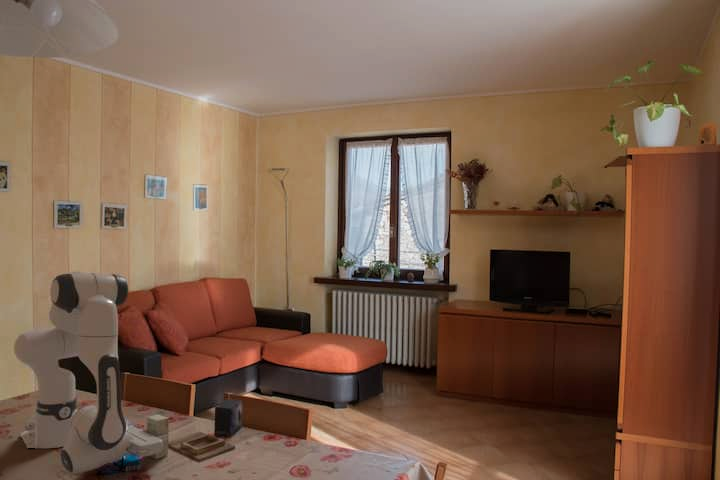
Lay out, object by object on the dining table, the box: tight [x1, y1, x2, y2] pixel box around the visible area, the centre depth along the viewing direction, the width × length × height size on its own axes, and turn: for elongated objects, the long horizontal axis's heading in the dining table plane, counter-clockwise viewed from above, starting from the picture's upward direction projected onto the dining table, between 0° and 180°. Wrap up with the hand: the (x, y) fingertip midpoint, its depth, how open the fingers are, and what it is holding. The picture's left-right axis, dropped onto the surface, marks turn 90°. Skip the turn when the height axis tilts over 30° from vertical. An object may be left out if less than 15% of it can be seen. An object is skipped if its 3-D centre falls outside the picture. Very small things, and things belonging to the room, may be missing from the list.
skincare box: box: [146, 413, 170, 460], centre depth 186 cm, size 6×4×12 cm
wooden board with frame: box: [168, 431, 236, 462], centre depth 194 cm, size 20×14×2 cm
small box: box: [213, 398, 243, 438], centre depth 208 cm, size 11×6×10 cm, turn 168°
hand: (160, 433), depth 187 cm, fingers closed on skincare box, 6 cm apart
